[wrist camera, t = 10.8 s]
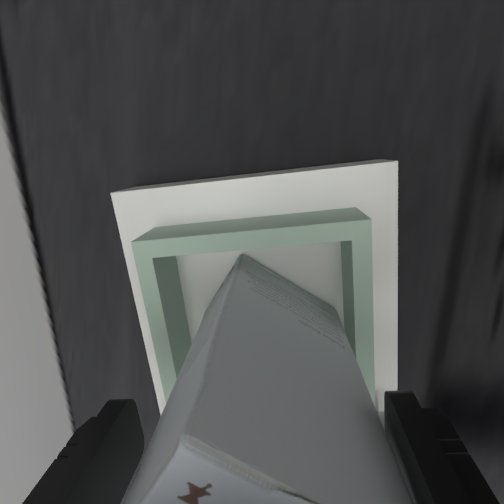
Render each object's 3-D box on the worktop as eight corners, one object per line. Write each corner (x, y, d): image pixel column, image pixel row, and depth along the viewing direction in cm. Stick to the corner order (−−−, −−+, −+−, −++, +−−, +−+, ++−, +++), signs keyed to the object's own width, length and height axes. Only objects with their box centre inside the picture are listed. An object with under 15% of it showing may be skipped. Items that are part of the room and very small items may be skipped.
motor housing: (380, 159, 19) (448, 165, 11) (383, 428, 24) (431, 561, 16) (134, 186, 20) (46, 209, 13) (185, 434, 25) (144, 558, 18)
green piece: (356, 207, 17) (371, 219, 14) (361, 384, 19) (375, 425, 17) (154, 226, 18) (130, 241, 15) (187, 392, 21) (172, 432, 18)
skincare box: (203, 313, 19) (76, 573, 7) (243, 246, 18) (165, 434, 6) (299, 367, 19) (320, 692, 8) (345, 305, 18) (453, 585, 6)
